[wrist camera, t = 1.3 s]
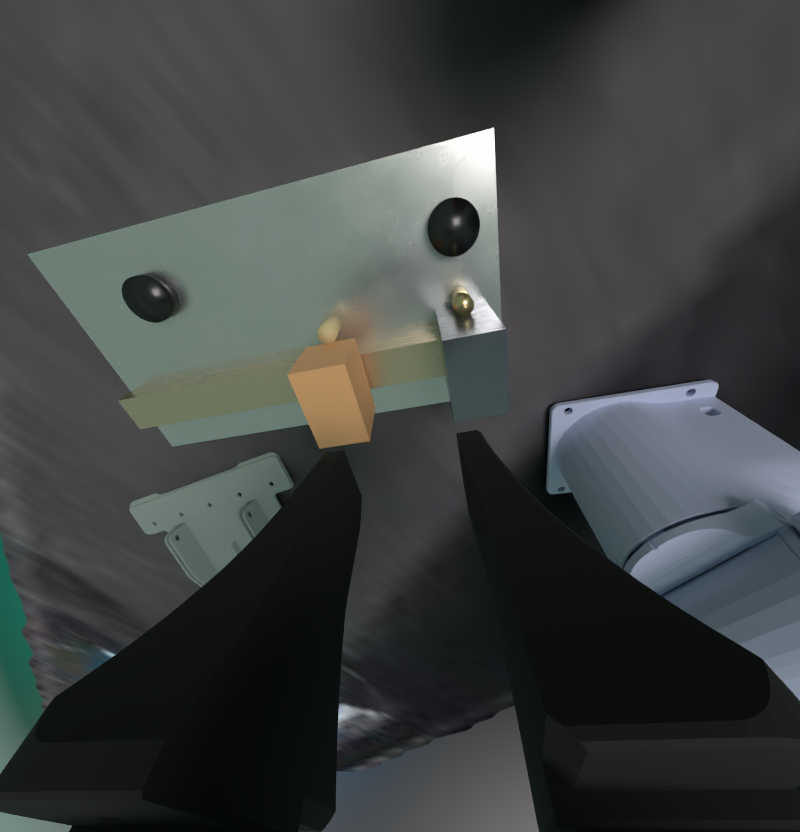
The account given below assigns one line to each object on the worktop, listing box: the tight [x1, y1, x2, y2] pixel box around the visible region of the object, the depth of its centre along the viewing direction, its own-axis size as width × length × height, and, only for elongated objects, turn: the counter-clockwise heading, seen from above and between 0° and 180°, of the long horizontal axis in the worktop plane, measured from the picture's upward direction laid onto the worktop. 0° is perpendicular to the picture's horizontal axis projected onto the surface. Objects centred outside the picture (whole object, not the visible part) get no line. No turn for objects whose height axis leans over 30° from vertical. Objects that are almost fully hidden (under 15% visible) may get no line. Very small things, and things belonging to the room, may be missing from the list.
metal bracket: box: [129, 452, 294, 587], centre depth 28 cm, size 14×6×15 cm
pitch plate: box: [28, 128, 509, 446], centre depth 16 cm, size 22×12×6 cm, turn 102°
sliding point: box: [287, 316, 376, 449], centre depth 16 cm, size 2×5×4 cm, turn 12°
